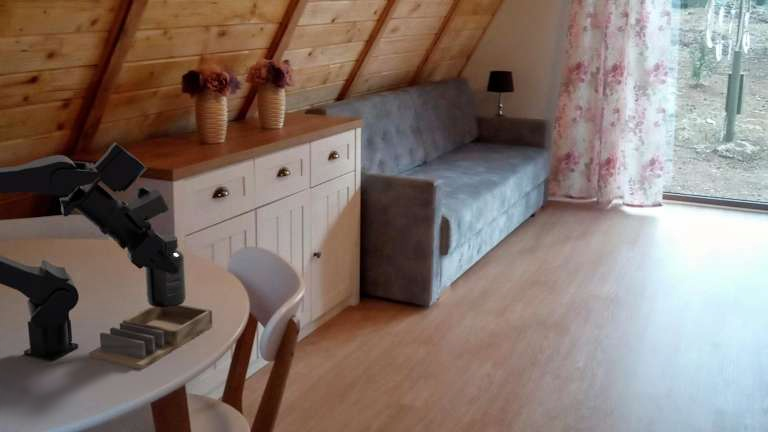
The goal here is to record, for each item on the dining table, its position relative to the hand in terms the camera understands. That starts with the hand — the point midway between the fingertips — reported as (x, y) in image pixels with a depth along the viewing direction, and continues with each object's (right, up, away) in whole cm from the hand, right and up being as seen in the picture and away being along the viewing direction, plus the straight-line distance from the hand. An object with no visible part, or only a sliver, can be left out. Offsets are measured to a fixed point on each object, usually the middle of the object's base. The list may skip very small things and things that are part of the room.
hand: (172, 265), depth 150 cm
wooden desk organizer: (-3, -13, -1) cm, 14 cm away
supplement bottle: (-1, -7, +1) cm, 7 cm away
